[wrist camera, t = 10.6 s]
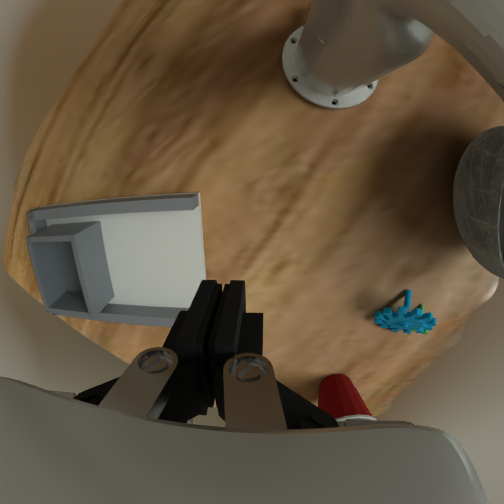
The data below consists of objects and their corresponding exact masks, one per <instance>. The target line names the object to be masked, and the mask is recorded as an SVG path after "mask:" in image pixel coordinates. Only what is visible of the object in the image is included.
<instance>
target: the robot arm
mask: <svg viewBox="0 0 504 504" xmlns="http://www.w3.org/2000/svg"><path fill="white" fill-rule="evenodd" d="M434 33H436V34H437V35H438V36H439V37H440V38H442V39H443V40H444V41H445V42H446V43H448V44H450V45H451V46H452V47H453V48H454V49H455V50H456V51H457V52H459V53H460V54H461V55H462V56H463V57H464V58H465V59H466V60H467V61H468V62H469V63H470V64H471V65H472V66H473V67H474V68H475V70H476V71H477V72H478V73H479V74H480V75H481V76H482V77H483V78H484V79H485V80H486V82H487V83H488V84H489V85H490V86H491V87H492V88H493V90H494V91H495V92H496V93H497V94H498V95H499V97H500V98H501V99H502V100H503V102H504V0H312V3H311V6H310V9H309V12H308V15H307V18H306V21H305V24H304V25H303V26H301V27H299V28H298V29H296V30H295V31H294V32H293V33H292V34H291V35H290V36H289V37H288V39H287V41H286V42H285V45H284V48H283V52H282V67H283V71H284V74H285V76H286V78H287V80H288V82H289V83H290V85H291V86H292V88H293V89H294V90H295V91H296V92H297V93H298V94H299V95H300V96H302V97H303V98H304V99H306V100H307V101H309V102H311V103H313V104H315V105H317V106H321V107H324V108H329V109H346V108H350V107H354V106H356V105H358V104H360V103H362V102H364V101H365V100H366V99H368V98H369V97H370V96H371V95H372V93H373V92H374V90H375V89H376V86H377V83H378V81H379V79H380V78H381V77H383V76H385V75H387V74H389V73H391V72H392V71H394V70H396V69H398V68H400V67H402V66H404V65H406V64H408V63H410V62H411V61H413V60H415V59H417V58H418V57H419V56H421V55H422V54H423V53H424V52H425V51H426V49H427V48H428V47H429V45H430V43H431V41H432V38H433V36H434ZM291 42H295V43H291ZM293 79H296V80H297V82H294V81H293ZM367 85H368V86H369V88H368V87H367ZM332 101H334V102H335V105H333V104H332ZM262 354H263V313H246V300H245V281H239V280H231V281H230V284H225V286H224V289H223V293H222V284H217V281H216V280H202V281H201V283H200V285H199V287H198V290H197V292H196V294H195V296H194V298H193V301H192V303H191V305H190V307H189V310H188V311H185V310H181V311H180V312H179V314H178V316H177V318H176V320H175V322H174V324H173V326H172V328H171V330H170V332H169V334H168V336H167V338H166V341H165V343H164V345H163V347H154V348H149V349H146V350H144V351H142V352H141V353H139V354H138V355H137V356H136V357H135V359H134V360H133V361H132V363H131V364H130V365H129V366H128V368H127V369H126V370H125V371H124V373H123V374H122V375H121V377H119V378H116V379H113V380H111V381H108V382H106V383H103V384H101V385H98V386H96V387H93V388H90V389H88V390H86V391H83V392H81V393H79V394H78V395H77V396H76V394H75V393H71V392H59V391H50V390H45V389H42V388H39V387H37V386H34V385H31V384H28V383H25V382H22V381H18V380H15V379H11V378H6V377H0V504H489V503H488V500H487V497H486V494H485V491H484V489H483V486H482V484H481V481H480V479H479V476H478V474H477V472H476V470H475V468H474V465H473V463H472V461H471V460H470V458H469V456H468V455H467V453H466V451H465V450H464V448H463V447H462V445H461V444H460V443H459V442H458V441H457V440H456V438H454V437H453V436H452V435H450V434H449V433H447V432H445V431H443V430H440V429H436V428H432V427H427V426H420V425H414V424H412V423H410V422H405V421H378V420H360V419H347V418H346V421H345V422H343V421H336V419H335V418H333V417H332V416H331V415H330V414H328V413H327V412H325V411H323V410H322V409H320V408H318V407H317V406H315V405H314V404H312V403H311V402H309V401H307V400H306V399H304V398H303V397H301V396H300V395H298V394H297V393H295V392H293V391H292V390H290V389H289V388H287V387H286V386H284V385H283V384H281V383H280V382H279V381H277V380H276V379H275V374H274V370H273V366H272V364H271V362H270V361H269V360H268V359H267V358H266V357H264V356H262ZM214 400H216V406H217V408H218V413H219V416H220V417H221V418H222V419H223V420H224V421H225V427H215V426H204V425H195V424H193V418H194V417H195V416H197V415H206V414H207V409H208V407H213V405H214Z"/></svg>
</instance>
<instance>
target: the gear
mask: <svg viewBox="0 0 504 504" xmlns="http://www.w3.org/2000/svg"><path fill="white" fill-rule="evenodd" d="M411 293H412V291H410V290H406V292H405V301H404V307H402V306H399V307H398V312H396V313H394V312H392V310H393V309H392V308H384V311H383V312H382V311H377V312H375V317H374V318H375V321H374V323H376V324H380V327H381V328H390V331H393V332H397V331H398V330H402V329H403V333H408V334H410V332H411V331H413V332H416V333H422V334H428V330H432V329H433V326H435V325H436V318H432V316H433V314H432V313H425V314H424V305H420V309H419V308H415V309H414V310H411V309H410V303H411Z"/></svg>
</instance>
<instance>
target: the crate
mask: <svg viewBox="0 0 504 504" xmlns="http://www.w3.org/2000/svg"><path fill="white" fill-rule="evenodd" d="M26 240H27V244H28V249H29V253H30V257H31V261H32V265H33V269H34V273H35V276H36V280H37V283H38V287H39V290H40V293H41V296H42V300H43V303H44V306H45V308H46V311H47V312H52V313H59V314H65V315H73V316H80V317H88V318H96V316H97V315H98V314H99V313H100V312H101V311H102V310H103V308H104V307H105V306H106V305H107V304H108V303H109V302H110V301H111V299H112V298H113V297H114V291H113V287H112V283H111V278H110V273H109V269H108V264H107V258H106V253H105V248H104V242H103V236H102V230H101V223H100V221H94V222H79V223H65V224H52V225H50V226H48V227H46V228H44V229H42V230H40V231H38V232H36V233H34V234H32V235H30V236H28V237H26Z"/></svg>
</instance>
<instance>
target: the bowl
mask: <svg viewBox="0 0 504 504" xmlns="http://www.w3.org/2000/svg"><path fill="white" fill-rule="evenodd" d="M453 208H454V215H455V219H456V224H457V227H458V230H459V232H460V235H461V237H462V239H463V241H464V243H465V245H466V246H467V248H468V250H469V251H470V253H471V254H472V256H473V257H474V258H475V259H476V260H477V261H478V263H479V264H481V265H482V266H483V267H484V268H485V269H487V270H488V271H489V272H491V273H493V274H494V275H496V276H498V277H501V278H504V126H498V127H494V128H491V129H488V130H486V131H484V132H483V133H481V134H480V135H478V136H477V137H476V138H475V139H474V140H473V141H472V142H471V143H470V144H469V145H468V147H467V148H466V150H465V152H464V153H463V155H462V157H461V159H460V162H459V164H458V167H457V170H456V173H455V177H454V184H453Z"/></svg>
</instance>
